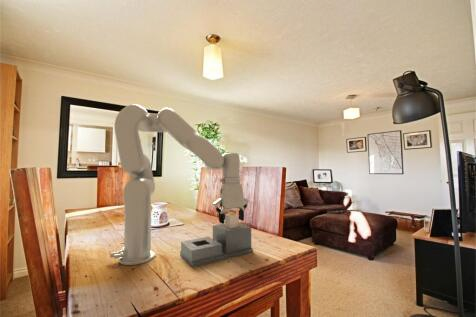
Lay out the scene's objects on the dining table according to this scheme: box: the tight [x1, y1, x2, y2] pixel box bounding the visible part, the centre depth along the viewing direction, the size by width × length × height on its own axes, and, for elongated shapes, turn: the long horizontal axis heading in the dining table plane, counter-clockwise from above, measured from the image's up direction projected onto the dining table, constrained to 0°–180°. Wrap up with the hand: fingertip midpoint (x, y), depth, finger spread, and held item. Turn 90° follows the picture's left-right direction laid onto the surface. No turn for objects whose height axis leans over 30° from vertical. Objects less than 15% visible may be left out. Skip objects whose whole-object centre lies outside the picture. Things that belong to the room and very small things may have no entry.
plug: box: [224, 212, 239, 229], centre depth 94 cm, size 4×5×10 cm
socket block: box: [179, 222, 254, 268], centre depth 90 cm, size 26×14×10 cm, turn 122°
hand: (231, 221), depth 94 cm, fingers open, 9 cm apart
